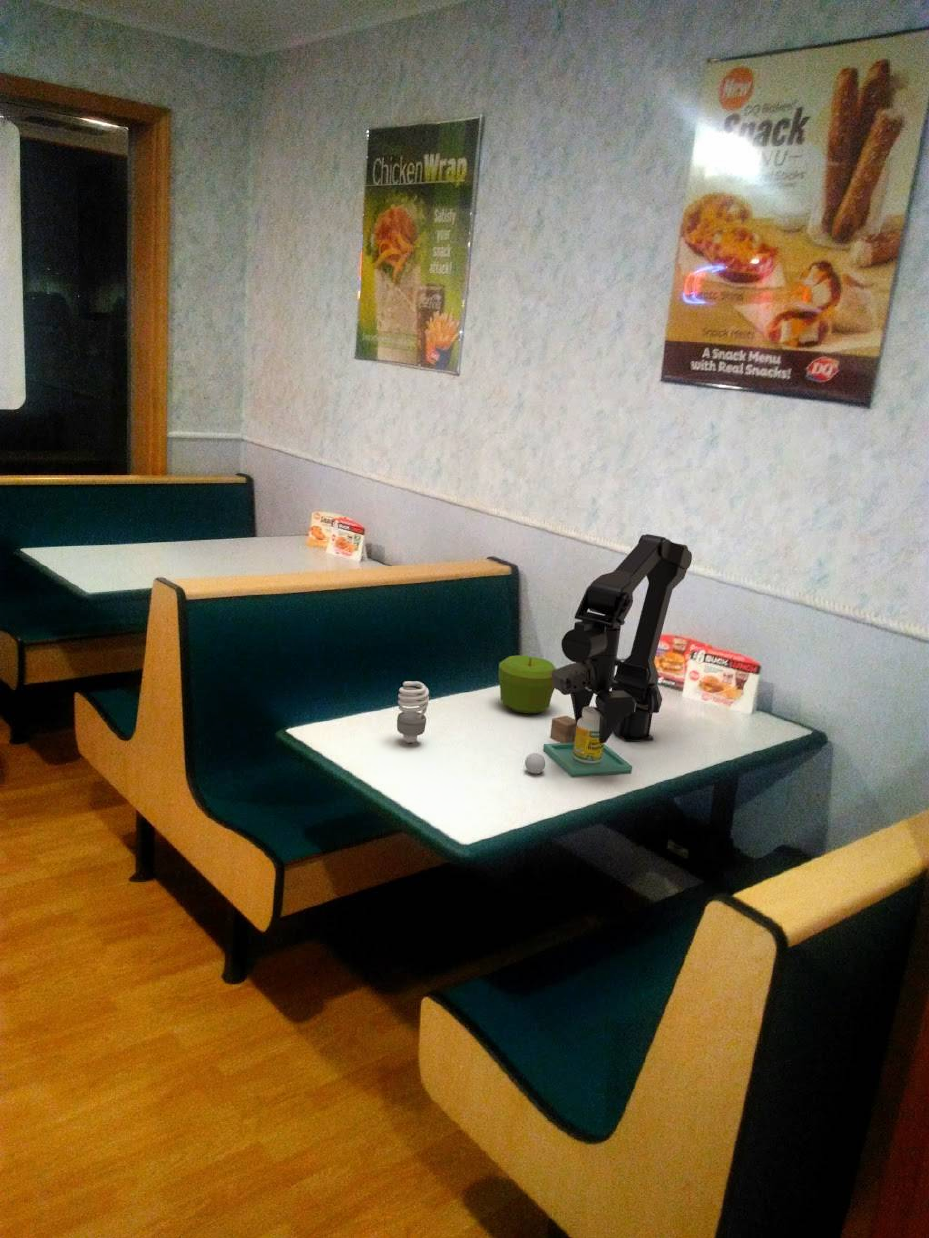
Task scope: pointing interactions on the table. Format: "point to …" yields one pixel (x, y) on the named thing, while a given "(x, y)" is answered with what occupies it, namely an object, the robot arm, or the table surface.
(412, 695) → the light bulb
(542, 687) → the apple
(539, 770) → the grey ball
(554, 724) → the walnut cube
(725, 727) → the table surface
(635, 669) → the robot arm
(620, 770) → the tray
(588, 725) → the supplement bottle
